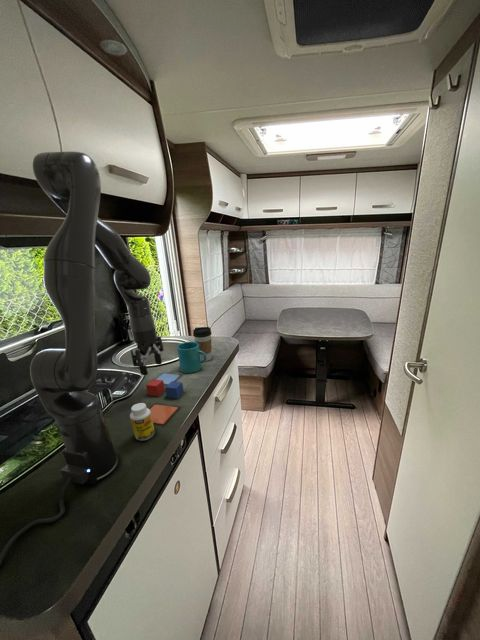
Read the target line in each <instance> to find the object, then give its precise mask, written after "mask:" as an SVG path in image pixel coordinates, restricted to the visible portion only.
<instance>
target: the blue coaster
mask: <svg viewBox="0 0 480 640" xmlns="http://www.w3.org/2000/svg"><path fill="white" fill-rule="evenodd" d="M180 377H181V375H180V374H175V373H162V374H161V375H159V376H158V377H157V378H156V380H163V383H164V386H167V385H168V384H169V383H170V382H171V381H173V382H176V380H177V379H179V378H180Z"/></svg>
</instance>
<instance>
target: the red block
mask: <svg viewBox="0 0 480 640" xmlns="http://www.w3.org/2000/svg"><path fill="white" fill-rule="evenodd" d="M156 379H157V378H156ZM156 379H154V378H152V379H151V380H150V381H149V382H147V383H146V384H145V387H146V392H147V395H148V396H153V397H159V396H161V395H162V394H163V393H164V392H166V390H165V385H164V383H163V380H156Z"/></svg>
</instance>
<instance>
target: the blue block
mask: <svg viewBox="0 0 480 640" xmlns="http://www.w3.org/2000/svg"><path fill="white" fill-rule="evenodd" d="M164 388H165V394H166V398H168V399H176V400H178V399H179V398H180V397H181V396H182V395H183V394H184V385H183V382H181V381H174V382H173V381H171V382H170V383H169V384H168V385H165V386H164Z"/></svg>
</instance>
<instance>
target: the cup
mask: <svg viewBox="0 0 480 640" xmlns="http://www.w3.org/2000/svg"><path fill="white" fill-rule="evenodd" d="M176 350H177V356H178V362H179V366H180V367H179V369H180V371H181V372H182V373H184V374H193V373H197V372H199V371H200V370H201V369H202V364H204V363H205V362H207V361H206V358H207V357H206V354H205V353H204V352H203V351H201V350H199V344H198V343H196V342H195V341H184V342H182V343H181V342H180V343H179V344H178V345H176ZM200 353H201V354H203V355H204V360H202V361H201V359H200Z"/></svg>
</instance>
